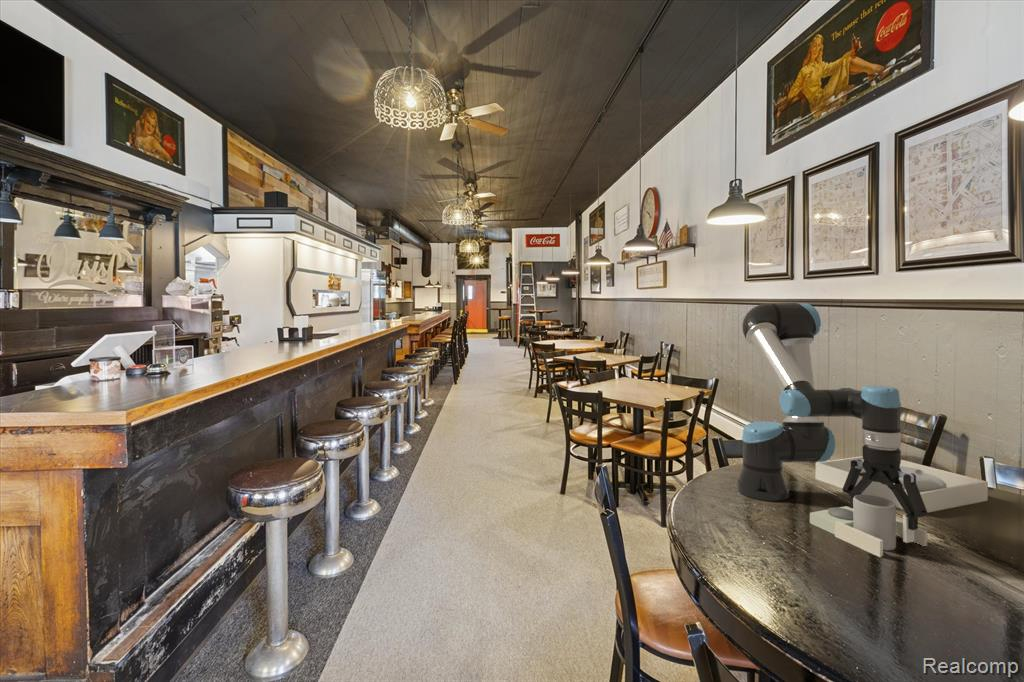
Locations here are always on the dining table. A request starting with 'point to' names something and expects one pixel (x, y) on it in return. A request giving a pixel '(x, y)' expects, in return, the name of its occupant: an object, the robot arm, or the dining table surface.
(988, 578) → the dining table surface
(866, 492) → the shallow rectangular tray
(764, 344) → the robot arm
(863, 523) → the mug
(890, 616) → the dining table surface
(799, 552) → the dining table surface
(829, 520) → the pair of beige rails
